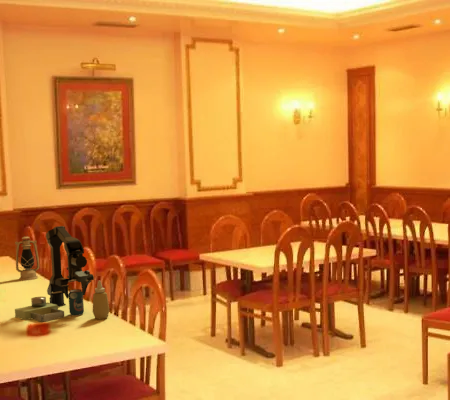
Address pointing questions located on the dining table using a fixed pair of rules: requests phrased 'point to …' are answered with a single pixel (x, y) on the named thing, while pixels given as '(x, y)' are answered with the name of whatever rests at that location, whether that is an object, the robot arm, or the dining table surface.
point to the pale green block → (35, 308)
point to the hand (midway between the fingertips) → (75, 296)
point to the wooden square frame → (48, 315)
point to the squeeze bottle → (100, 302)
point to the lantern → (27, 260)
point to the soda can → (76, 302)
